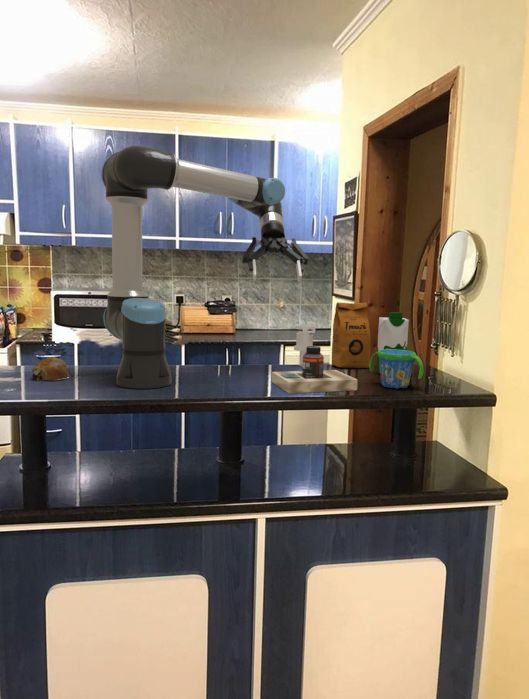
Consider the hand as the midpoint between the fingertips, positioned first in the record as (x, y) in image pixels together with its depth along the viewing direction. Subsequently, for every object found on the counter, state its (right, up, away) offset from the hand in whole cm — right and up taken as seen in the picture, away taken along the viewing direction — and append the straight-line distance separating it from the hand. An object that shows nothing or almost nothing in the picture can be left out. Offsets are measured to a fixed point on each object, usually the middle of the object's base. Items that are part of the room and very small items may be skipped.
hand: (277, 278), depth 171 cm
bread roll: (-65, -30, -6) cm, 72 cm away
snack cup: (+33, -32, -7) cm, 47 cm away
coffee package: (+25, -27, +24) cm, 44 cm away
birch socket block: (+10, -31, -9) cm, 34 cm away
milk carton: (+36, -29, +11) cm, 48 cm away
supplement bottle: (+10, -32, -9) cm, 34 cm away
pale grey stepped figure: (+9, -27, +24) cm, 37 cm away
